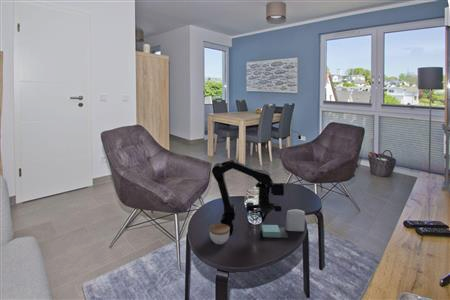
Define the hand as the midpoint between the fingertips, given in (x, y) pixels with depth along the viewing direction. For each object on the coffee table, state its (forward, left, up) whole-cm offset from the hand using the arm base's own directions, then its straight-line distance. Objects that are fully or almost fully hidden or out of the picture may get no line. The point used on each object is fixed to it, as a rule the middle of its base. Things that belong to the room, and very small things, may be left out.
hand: (262, 221), depth 164 cm
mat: (+8, +1, -8) cm, 11 cm away
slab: (0, 0, -6) cm, 6 cm away
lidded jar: (-24, -9, -8) cm, 26 cm away
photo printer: (+19, +5, -8) cm, 21 cm away
